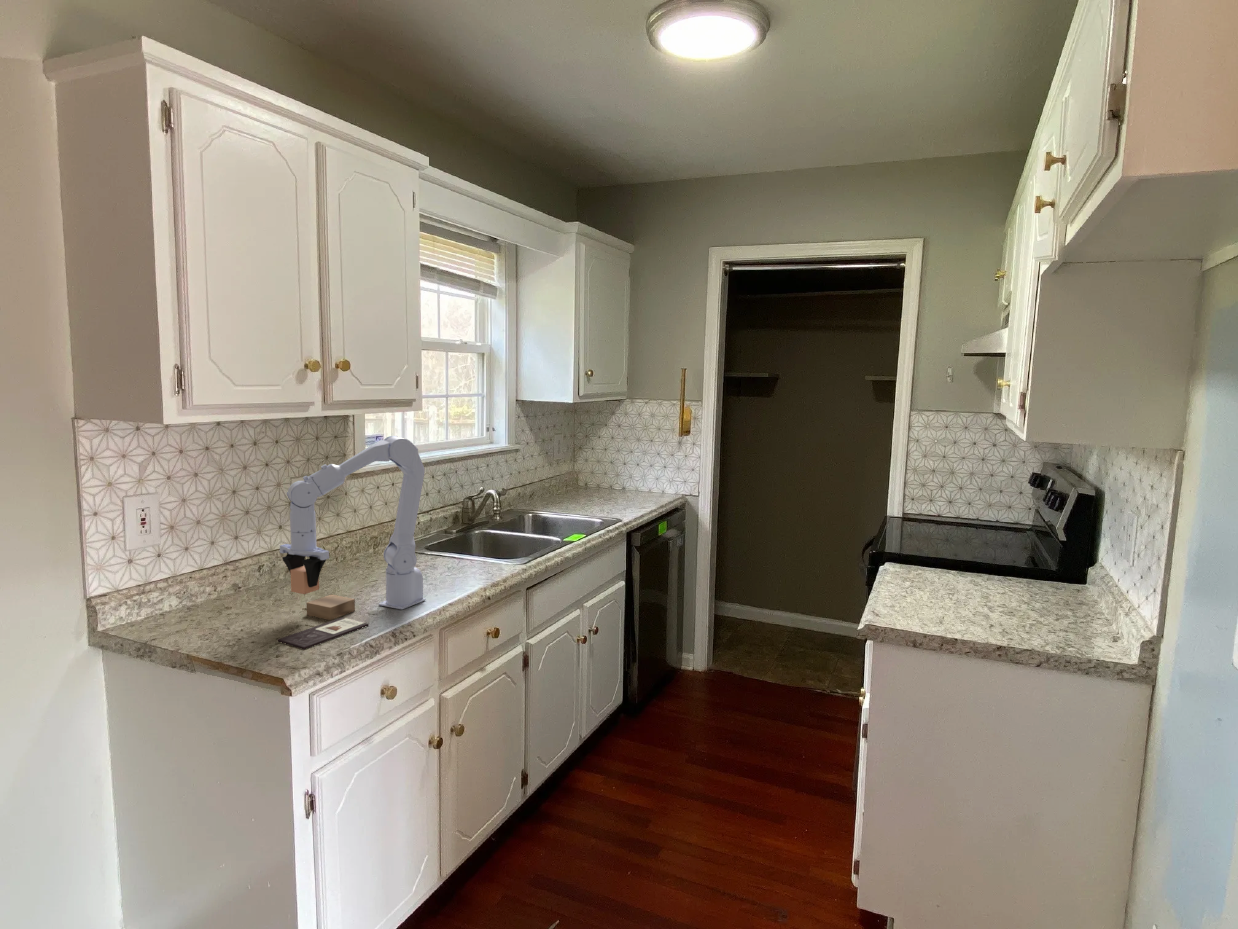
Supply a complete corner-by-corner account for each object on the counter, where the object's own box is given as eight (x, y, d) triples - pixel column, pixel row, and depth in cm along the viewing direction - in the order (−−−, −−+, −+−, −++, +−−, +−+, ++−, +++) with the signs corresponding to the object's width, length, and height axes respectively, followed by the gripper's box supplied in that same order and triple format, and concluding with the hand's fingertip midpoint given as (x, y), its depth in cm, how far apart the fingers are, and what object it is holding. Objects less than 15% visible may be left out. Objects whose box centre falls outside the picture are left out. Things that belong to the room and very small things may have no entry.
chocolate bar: (277, 639, 164) (342, 617, 180) (277, 643, 165) (342, 621, 180) (304, 647, 160) (368, 624, 176) (304, 651, 160) (368, 627, 176)
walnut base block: (331, 607, 190) (331, 594, 190) (355, 612, 187) (354, 599, 186) (306, 616, 183) (306, 602, 182) (330, 621, 179) (330, 607, 179)
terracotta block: (306, 586, 183) (305, 565, 182) (319, 589, 181) (318, 567, 180) (291, 591, 179) (290, 569, 178) (304, 594, 177) (303, 572, 176)
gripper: (268, 530, 178) (270, 584, 179) (311, 537, 172) (313, 593, 173) (292, 525, 184) (294, 577, 186) (335, 531, 178) (336, 585, 180)
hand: (305, 584), depth 180 cm, fingers closed on terracotta block, 4 cm apart
